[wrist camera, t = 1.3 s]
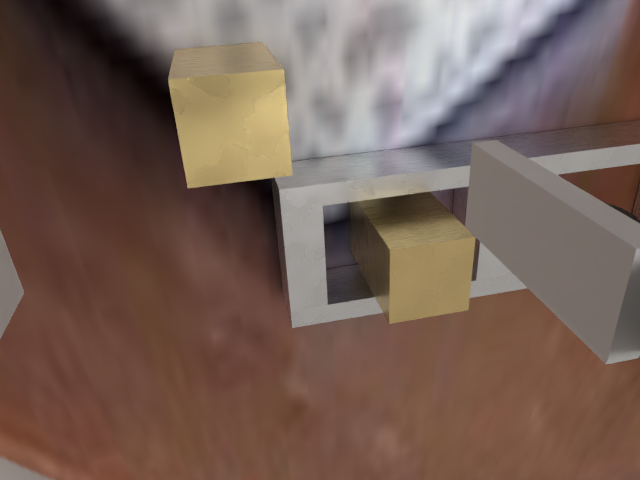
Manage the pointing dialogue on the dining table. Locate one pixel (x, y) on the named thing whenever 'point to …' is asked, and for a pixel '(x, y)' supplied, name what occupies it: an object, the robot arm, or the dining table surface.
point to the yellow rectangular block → (230, 114)
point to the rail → (402, 179)
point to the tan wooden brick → (412, 255)
